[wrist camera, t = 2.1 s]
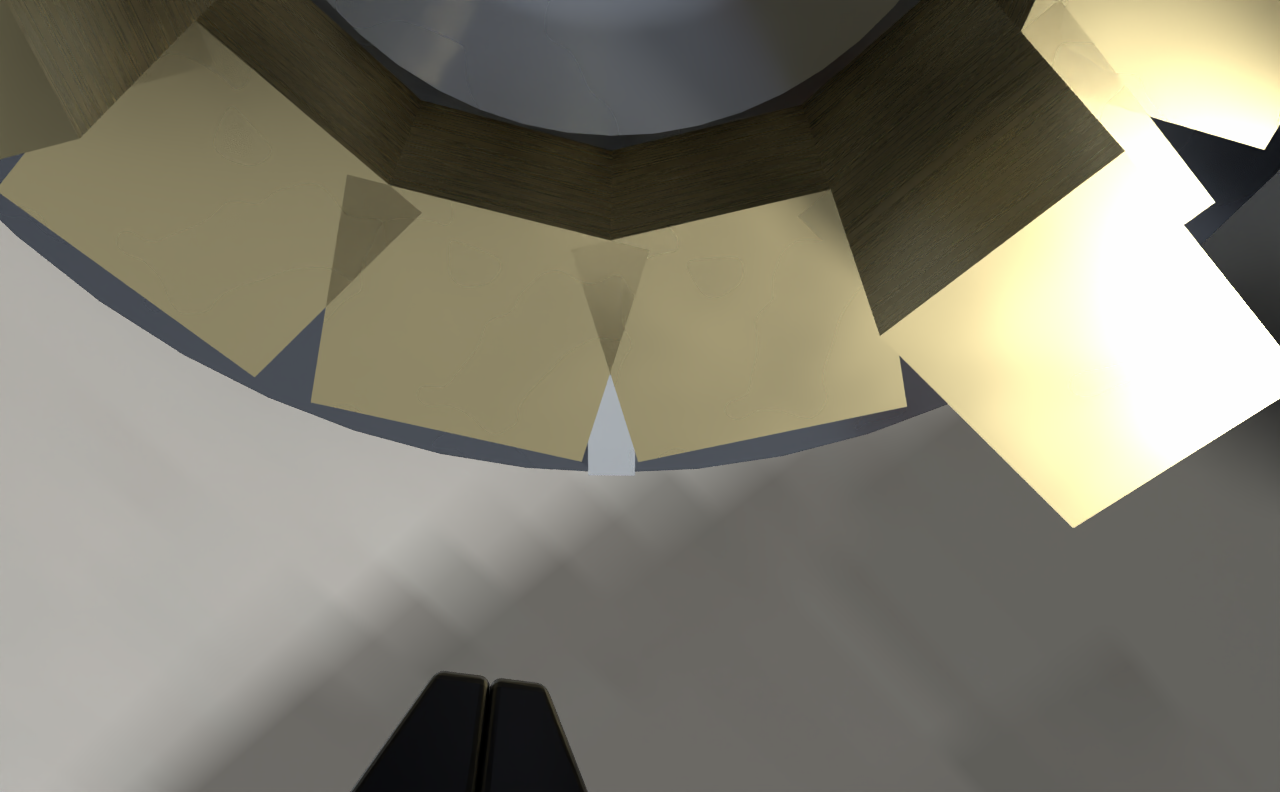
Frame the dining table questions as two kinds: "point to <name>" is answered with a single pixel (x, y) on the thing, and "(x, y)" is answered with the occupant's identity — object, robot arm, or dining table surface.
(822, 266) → the tan segmented ring
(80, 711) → the dining table surface
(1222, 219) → the grey round tray
